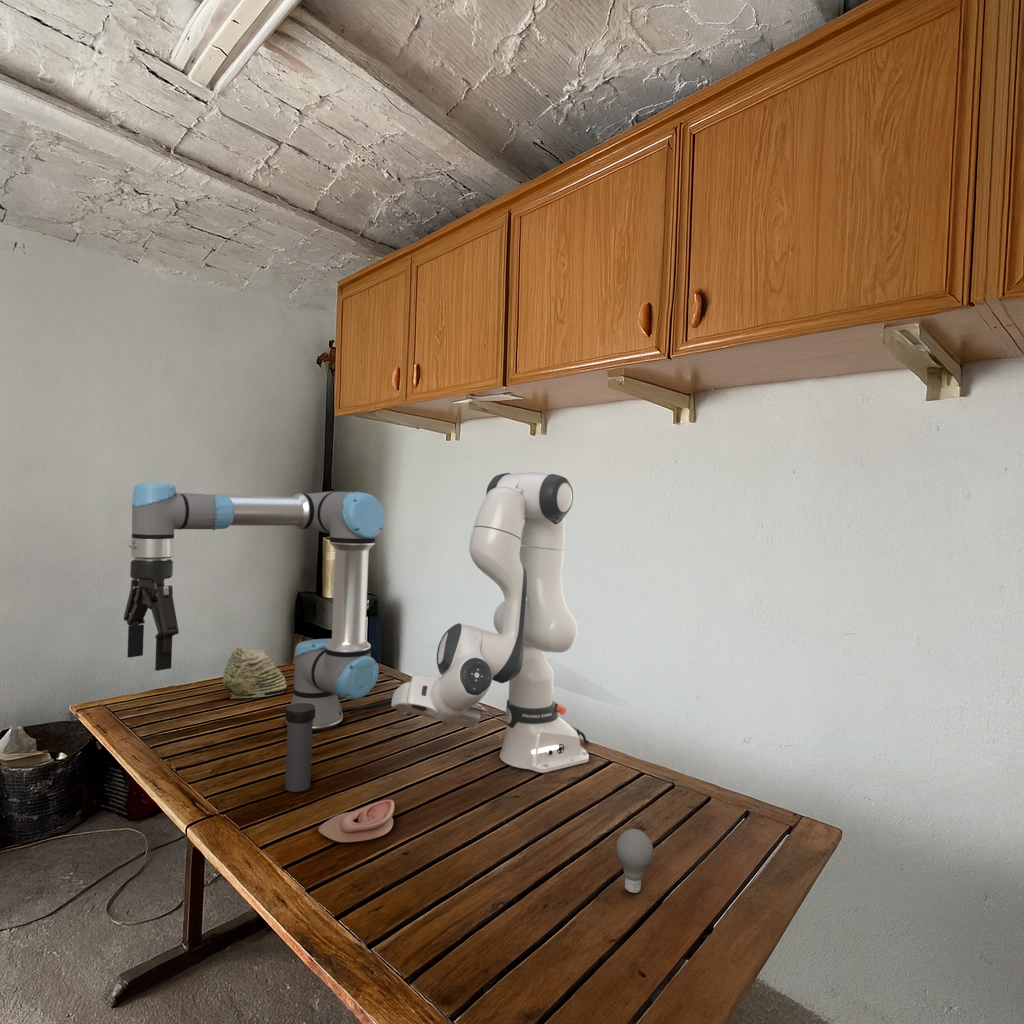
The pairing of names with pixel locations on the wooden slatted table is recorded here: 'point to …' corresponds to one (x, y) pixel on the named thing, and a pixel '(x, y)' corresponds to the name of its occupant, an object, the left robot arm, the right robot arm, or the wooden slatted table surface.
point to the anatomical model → (360, 823)
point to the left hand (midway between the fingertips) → (148, 662)
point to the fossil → (252, 674)
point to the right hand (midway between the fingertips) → (425, 717)
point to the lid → (300, 712)
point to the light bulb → (634, 857)
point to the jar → (298, 756)
